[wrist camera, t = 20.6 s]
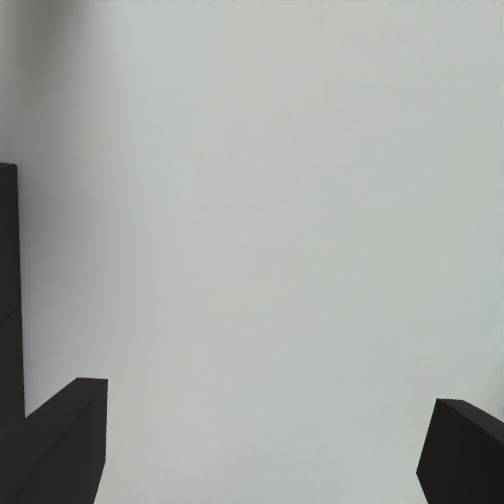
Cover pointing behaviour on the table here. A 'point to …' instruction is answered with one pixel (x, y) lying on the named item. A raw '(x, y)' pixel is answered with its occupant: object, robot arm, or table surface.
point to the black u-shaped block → (10, 304)
